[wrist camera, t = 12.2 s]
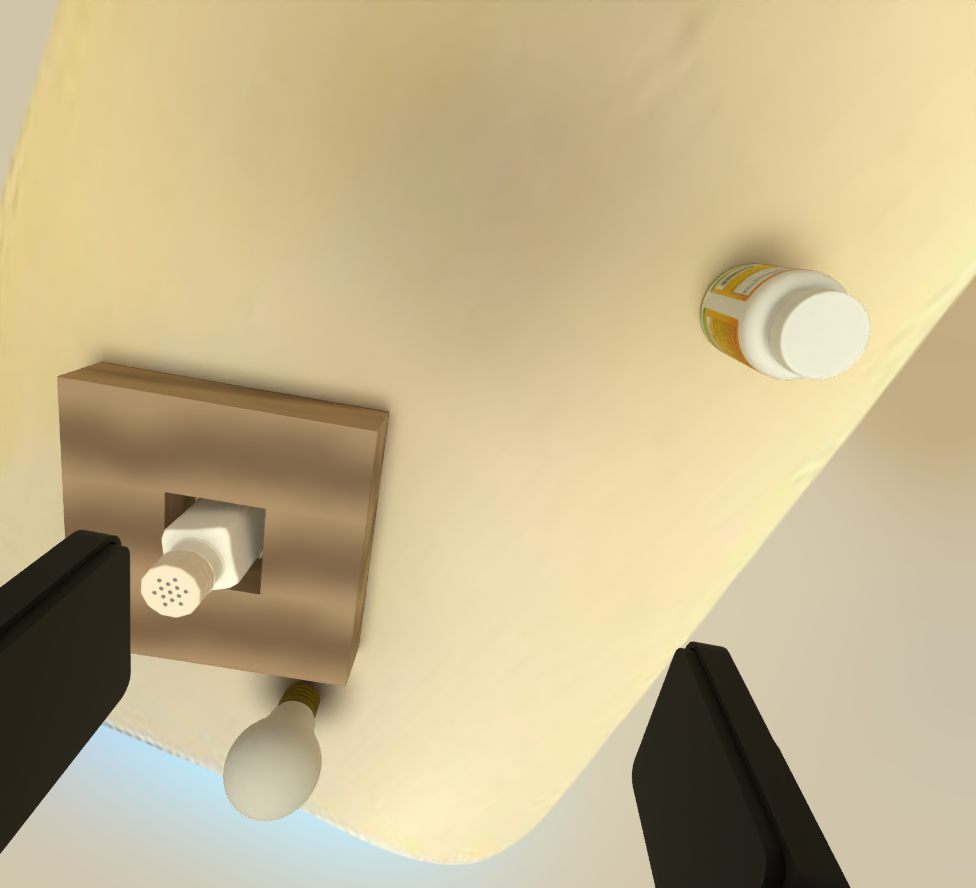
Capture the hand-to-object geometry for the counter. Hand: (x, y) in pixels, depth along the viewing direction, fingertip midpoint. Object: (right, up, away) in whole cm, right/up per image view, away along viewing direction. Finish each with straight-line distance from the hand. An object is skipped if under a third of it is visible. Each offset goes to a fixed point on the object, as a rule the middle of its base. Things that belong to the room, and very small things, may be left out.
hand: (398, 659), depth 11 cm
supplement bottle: (+17, +12, +27) cm, 34 cm away
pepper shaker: (-15, -1, +32) cm, 35 cm away
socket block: (-15, -1, +31) cm, 35 cm away
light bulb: (-12, -15, +36) cm, 41 cm away
